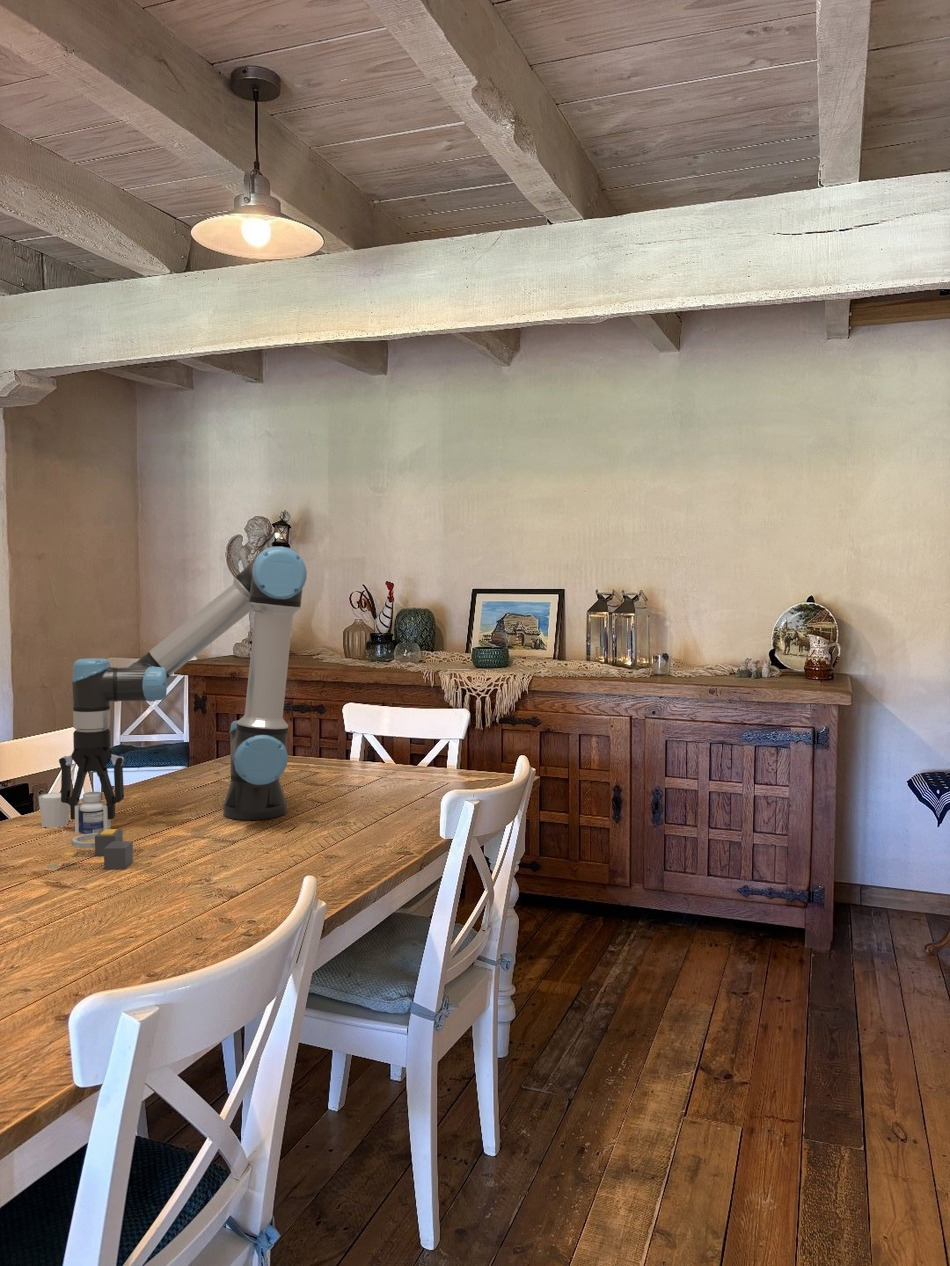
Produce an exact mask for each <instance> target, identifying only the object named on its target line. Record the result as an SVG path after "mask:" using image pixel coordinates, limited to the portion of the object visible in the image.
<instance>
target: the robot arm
mask: <svg viewBox="0 0 950 1266" xmlns="http://www.w3.org/2000/svg"><path fill="white" fill-rule="evenodd" d="M307 573H308V571H307V567H306V565H305V562H304V560H303V558H302V557H301V556H300V555H299V553H297V552H296V551H295V550H293V549H291V548H289V547H286V546H269V547H267V548H265V549H263V550H262V551H260V552H259V553H257V554H256V555H255V556H254V558H253V559H252V560H251V561H250V562H249V564H248V565H247V566H245V568H243V570H241V571H240V572H239V573H238V574H237V575H236V576H234V577H233V583H232V584H231V585H230V586H229V587H228V588H227V589H225V590H224V591H222V592H221V593H220V594H219V595H218V596H216V598H214V599H213V600H211V601H210V602H209V603H208V604H206V605H205V606H204V607H202V608H201V609H200V610H199V611H197V613H195V614H194V615H193V616H191V617H190V618H189V619H188V620H186V621H185V622H184V623H183V624H181V625H180V626H179V627H178V628H177V629H175V630H174V631H173V632H171V633H170V634H169V635H168V636H167V637H166V638H164V639H163V640H161V641H160V642H159V643H158V644H157V645H155V646H154V647H153V648H152V649H150V650H149V651H148V652H147V653H145V654H144V655H143V656H142V657H140V658H139V659H138V660H137V661H135V662H133V663H132V664H130V665H129V666H128V667H113V666H112V667H111V664H110V660H109V659H107V658H104V657H103V658H95V657H93V658H91V657H90V658H88V657H87V658H79V659H77V660H75V661H74V662H73V665H72V680H71V682H72V713H73V714H72V718H73V719H72V723H73V725H72V726H73V729H75V730H74V732H73V734H72V735H73V737H72V739H73V740H72V741H73V751H72V753H71V755H66V756H63V757H61V758H59V760H58V762H59V766H60V769H61V777H60V778H61V779H60V780H61V784H60V785H61V786H60V793H61V802H62V803H67V804H69V805H70V810H69V819H71V820H72V821H74V833H75V834H77V833H78V834H79V833H80V806H81V805H82V804H83V803H82V802H81V803H80V798H81V795H82V791H83V787H84V784H85V780H86V776H87V774H88V773H89V772H93V773H96V775H97V777H98V778H99V782H100V785H101V788H102V791H103V792H102V793H103V795H104V799H105V802H106V803H105V805H104V806H103V822H104V830H105V829H112V820H114V819H115V818H116V804H117V803H120V802H121V801H123V800H124V799H125V791H124V790H125V789H124V768H123V766H124V763H125V761H126V758H125V756H124V755H120V756H119V755H117V754H113V751H112V749H111V730H110V729H109V727H111V706H110V705H111V702H116V703H117V702H153V701H163V700H165V699H166V697H167V694H168V693H167V690H168V689H167V686H168V685H167V681H168V680H167V679H168V678H169V677H170V676H172V675H173V674H175V673H176V672H178V670H180V668H182V667H183V666H184V665H185V664H187V663H188V662H190V661H191V660H192V659H193V658H194V657H196V656H197V655H198V654H199V653H201V652H202V651H203V650H205V648H207V647H208V646H209V645H211V644H212V643H213V642H214V641H216V640H217V639H218V638H219V637H221V635H222V634H224V633H225V632H226V631H228V630H229V629H230V628H232V627H233V626H234V625H236V624H237V623H238V622H239V621H240V620H242V619H243V618H244V617H245V616H246V615H248V614H249V613H250V612H252V611H253V610H254V618H253V619H254V620H253V627H252V628H253V630H252V638H251V640H252V641H251V649H250V656H249V657H250V659H249V667H248V668H249V669H248V679H247V689H246V698H245V699H246V700H245V708H244V715H243V716H242V717H241V718H239V720H234V721H232V722H231V723H230V730H229V735H230V738H229V739H230V783H229V787H228V789H227V792H226V796H225V800H224V802H223V807H222V809H223V810H222V814H223V816H224V817H225V818H228V819H233V820H240V821H259V820H268V819H273V818H278V817H281V816H283V815H285V814H286V813H287V810H288V809H287V800H286V797H285V795H284V794H285V793H284V790H283V788H282V785H281V780H280V777H281V776H282V775H283V774H284V772H285V770H286V768H287V765H288V762H289V756H288V755H289V754H288V751H287V744H288V735H289V734H288V733H289V724H288V723H287V722H286V721H285V719H284V717H283V715H284V707H285V696H286V689H287V688H286V687H287V678H288V667H289V666H288V665H289V658H290V648H291V640H292V639H291V638H292V629H293V628H292V627H293V619H294V618H293V617H294V615H295V614H296V613H297V612H298V611H299V610H301V605H302V597H303V596H302V595H303V588H304V586H305V585H306V581H307ZM110 761H112V762H111V763H112V766H113V780H114V781H113V783H114V790H113V787H112V784H111V779H110V777H109V772H108V767H107V765H108V764H109V763H110ZM73 762H74V763H75V764H76V766H77V767H78V769H77V771H76V778H75V782H74V785H73V788H72V790H71V783H72V782H71V781H72V765H73ZM71 791H72V792H71ZM70 794H71V797H70Z"/></svg>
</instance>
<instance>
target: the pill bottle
mask: <svg viewBox="0 0 950 1266" xmlns="http://www.w3.org/2000/svg"><path fill="white" fill-rule="evenodd" d="M103 798H104V797H103V792H101V791H89V792H84V793H83V794H82V801H83V803H82V805H81V806H80V832H79V833H80V834H81V835H84V834H91V833H99V832H101V831H102V830H104V822H103V806H104V805H105V804H106V803H105V802H103V801H102V800H103Z"/></svg>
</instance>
